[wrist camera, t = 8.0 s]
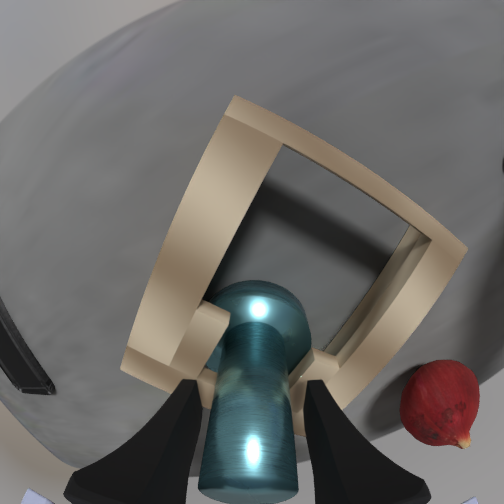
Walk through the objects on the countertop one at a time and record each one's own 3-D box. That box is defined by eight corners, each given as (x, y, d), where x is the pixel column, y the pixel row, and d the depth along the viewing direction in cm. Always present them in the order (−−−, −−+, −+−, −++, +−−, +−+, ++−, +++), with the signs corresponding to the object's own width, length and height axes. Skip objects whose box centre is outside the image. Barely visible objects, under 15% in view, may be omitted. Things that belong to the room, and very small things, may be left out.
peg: (197, 279, 15) (129, 438, 6) (310, 279, 15) (365, 443, 5) (207, 364, 17) (176, 507, 8) (302, 364, 17) (324, 510, 7)
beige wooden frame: (241, 109, 12) (234, 95, 9) (432, 228, 14) (468, 248, 10) (140, 333, 16) (119, 369, 13) (304, 399, 18) (310, 437, 15)
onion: (374, 397, 18) (405, 482, 10) (405, 337, 16) (460, 426, 9) (430, 392, 18) (467, 461, 11) (462, 337, 16) (517, 405, 9)
